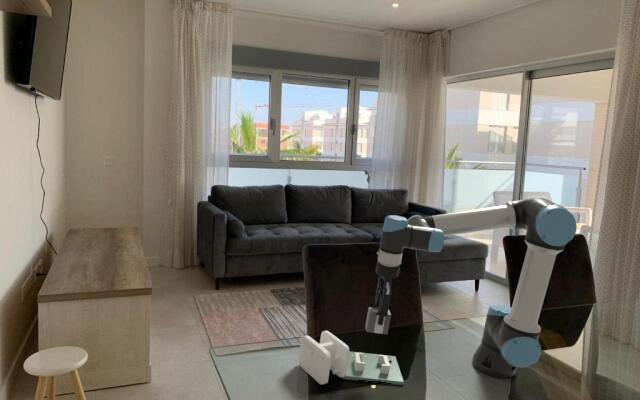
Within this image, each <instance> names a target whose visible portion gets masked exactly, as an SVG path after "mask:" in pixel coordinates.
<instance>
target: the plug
mask: <svg viewBox="0 0 640 400" xmlns="http://www.w3.org/2000/svg"><path fill="white" fill-rule="evenodd" d="M378 309H379V308H375V307H372V306H371V307H370V306H369V307H368V309H367V312H366V313H367V315H366V319H365V326H364V327H365V331H366V333H371V334H375V333H374V328H375V322H376V316H377V315H376V313H378ZM391 317H392V314H391V310H390V309H388V315H387V317H385V321H384V327H383V332H382V335H388V333H389V329H390V328H389V327H390V324H391V323H390V321H391Z"/></svg>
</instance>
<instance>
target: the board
mask: <svg viewBox="0 0 640 400" xmlns="http://www.w3.org/2000/svg"><path fill="white" fill-rule="evenodd" d="M341 379H342V380H350V381H351V380H352V381H358V380H367V381H366V382H368V381H381V382H386V383H385V384H387V383H391V384H390V385H399V386H404V383H405V380H404V378H403V376H402V373H401V370H400V366H399V363H398V361H397V357H396V356H395V355H388V354H387V355H386V354H385V355H384V354H378V353H366V352H360V351H359V352H357V351H350V355H349V361H348V368H347V374H346V376H344V377H341Z"/></svg>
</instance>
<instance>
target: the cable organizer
mask: <svg viewBox="0 0 640 400" xmlns="http://www.w3.org/2000/svg"><path fill="white" fill-rule="evenodd" d="M299 344H300V345H299V351H298V352H299V353H298V365H299V366H300V368H302V369H303V370H304V372H306V373H307V374H308V375H310V377H312V378H313V380H314V381H316V382H317V383H318V384H319V385H326V384H328V383H329V377H330V371H331V372H332V375H336V376H337V377H339V378H342V377H344V376H346V374H347V368H348V361H349V355H350V352H351V351H350V347H349V345H348V344H346V343H345V342H344V341H342V340H341V339H339V338H338V337H337V336H336V335H334V334H333V333H332V332H330V331H329V330H323V331H321V333H320V339H319V342H318V341H316V340H315V339H314V338H313V337H311V336H309V335H302V336H301V337H300V342H299Z"/></svg>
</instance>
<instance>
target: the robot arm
mask: <svg viewBox="0 0 640 400" xmlns="http://www.w3.org/2000/svg"><path fill="white" fill-rule="evenodd" d="M504 228H508V229H510V230H521V229H522V230H526V232H525V237H524V239H523V240H524V242H525V244H526V246H527V249H526V251H525V252H526V253H525V255H524V256H525V257H524V261H523V264H522V268H521V271H520V276H519V279H518V282H517V287H516V290H515V295H514V298H513V302H512V306H511V307H510V306H506V305H501V304H500V305H499V304H494V305H491V306H489V307H488V311H487V312H486V317H485V322H484V323H485V324H484V328H483V333H482V337H481V342H480V344H479V345H478V347H477V348H476V350H475V352H474V353H473V356H472V359H471V361H472V362H471V363H472V365H473V366H474V367H475V368H476V369H477V370H478V371H480V372H482V374H483V373H484V374H486V375H487V376H490V377H494V378H497V377H499V378H498V379H509V378H508V377H511V378H513V377H514V376H515V375H516V372H517V368H529V367H530V366H532V365H535V363H537V362H538V361H539V359H540V357H541V354H542V349H541V345H540V343H539V337H540V334H541V330H542V328H541V326H540V325H539V324H538V321H539V318H540V315H541V310H542V307H543V304H544V300H545V297H546V293H547V289H548V286H549V282H550V280H551V276H552V272H553V269H554V265H555V262H556V258H557V255H558V254H560V253H561V252H564V248H565V247H566V245H567V244H568V243H569V242H571V241H572V240H573V239H574V237H575V235H576V232H577V228H578V227H577V221H576V219H575V216H574V215H573V213H572V212H571V211H569V210H568V209H567V208H565V207H564V206H562V205H560V204H558V203H555V202H553V201H551V200H548V199H546V198H542V197H532V198H531V197H530V198H525V199H518V200H511V201H506V203H505V204H504V205H498V206H491V207H485V208H484V207H483V208H477V209H471V210H463V211H462V210H461V211H458V212H457V211H456V212H449V213H448V212H447V213H442V214H436V215H430V216H429V215H427V216H423V215H418V214H416V215H411V216H410V217H409V218H408V219H407V218H406V217H405V216H400V215H394V214H393V215H392V214H391V215H387V216H385V218H384V221H383V225H382V228H381V236H380V243H379V249H378V251H377V252H376V254H377V261H376V266H375V273H376V274H377V277H378V280H377V287H376V291H375V293H376V294H375V296H374V297H375V299H374V303H375V304H374V306H375V307H374V308H379V309H378V313H376V315H377V316H376V322H375V328H374V333H373V334H382V332H383V327H384V321H385V317H387V315H388V310H389V307H390V303H391V297H392V293H393V288H392V287H393V282H392V279H396V278H398V276H399V274H400V268H401V266H400V265H401V264H402V258H403V252H404V249H410V250H417V251H421V252H422V251H424V252H429V253H432V252H433V253H439V252H441V251H442V250H443V247H444V243H445V237H446V236H455V235H462V234H469V233H475V232H483V231H490V230H497V229H504ZM382 335H383V334H382ZM514 374H515V375H514ZM513 375H514V376H513ZM512 376H513V377H512Z"/></svg>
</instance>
